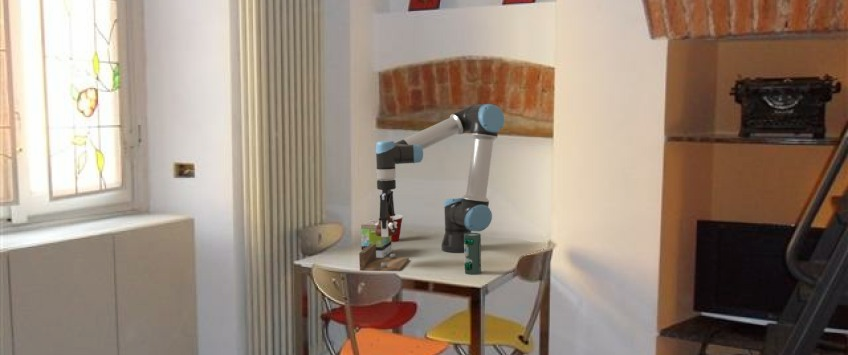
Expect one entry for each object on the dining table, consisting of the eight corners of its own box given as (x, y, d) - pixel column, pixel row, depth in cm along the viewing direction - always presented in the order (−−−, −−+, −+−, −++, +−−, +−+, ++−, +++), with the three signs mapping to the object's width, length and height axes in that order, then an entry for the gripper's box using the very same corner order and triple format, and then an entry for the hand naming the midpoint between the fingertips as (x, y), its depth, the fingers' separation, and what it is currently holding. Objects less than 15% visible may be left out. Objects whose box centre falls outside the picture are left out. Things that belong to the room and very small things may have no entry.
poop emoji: (384, 232, 308) (384, 209, 307) (402, 233, 304) (401, 210, 303) (371, 236, 300) (370, 213, 299) (389, 237, 295) (388, 214, 294)
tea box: (383, 259, 316) (382, 224, 314) (361, 258, 318) (359, 224, 316) (392, 251, 330) (391, 218, 329) (370, 251, 332) (369, 218, 331)
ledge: (408, 260, 312) (408, 243, 311) (399, 271, 292) (399, 253, 291) (371, 259, 314) (371, 243, 314) (359, 270, 295) (359, 253, 294)
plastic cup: (376, 241, 355) (375, 216, 354) (391, 238, 364) (390, 213, 363) (394, 243, 349) (393, 218, 348) (408, 240, 357) (407, 215, 356)
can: (464, 271, 289) (463, 233, 288) (479, 270, 289) (479, 232, 288) (466, 274, 283) (465, 235, 282) (481, 274, 283) (481, 235, 282)
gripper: (383, 176, 311) (384, 229, 313) (370, 182, 289) (372, 239, 291) (400, 176, 310) (402, 229, 312) (389, 182, 288) (391, 239, 290)
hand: (387, 234), depth 302 cm, fingers closed on poop emoji, 10 cm apart
